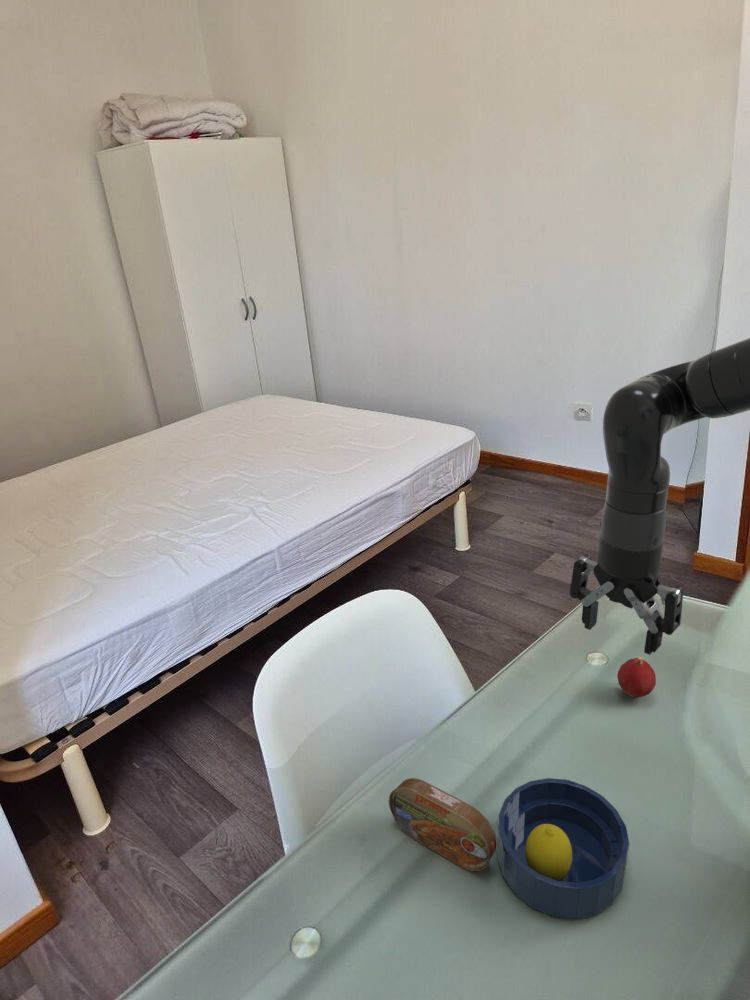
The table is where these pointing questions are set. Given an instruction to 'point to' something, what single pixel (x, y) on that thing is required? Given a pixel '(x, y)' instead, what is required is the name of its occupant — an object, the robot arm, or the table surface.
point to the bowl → (592, 842)
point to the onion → (636, 677)
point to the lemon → (549, 851)
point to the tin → (443, 824)
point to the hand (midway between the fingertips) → (619, 638)
